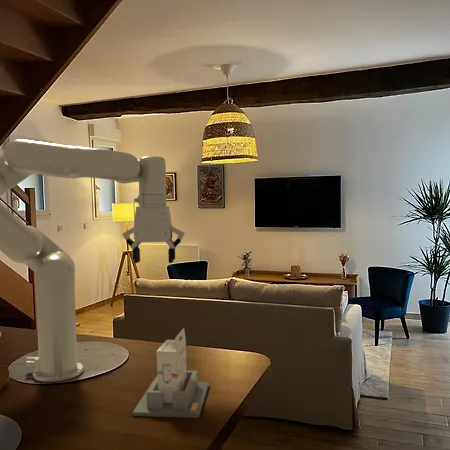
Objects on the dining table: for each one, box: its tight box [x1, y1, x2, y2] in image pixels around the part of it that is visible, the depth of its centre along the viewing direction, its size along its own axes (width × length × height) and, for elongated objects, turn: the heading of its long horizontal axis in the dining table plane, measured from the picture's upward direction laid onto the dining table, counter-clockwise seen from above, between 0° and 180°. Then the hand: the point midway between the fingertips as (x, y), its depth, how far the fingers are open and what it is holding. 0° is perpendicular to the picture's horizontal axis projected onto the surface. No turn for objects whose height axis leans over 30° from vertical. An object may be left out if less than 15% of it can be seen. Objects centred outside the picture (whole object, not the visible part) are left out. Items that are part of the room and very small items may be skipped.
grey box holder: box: [132, 370, 210, 419], centre depth 103 cm, size 14×17×4 cm
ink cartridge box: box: [155, 328, 187, 403], centre depth 103 cm, size 9×5×15 cm, turn 172°
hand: (154, 262), depth 127 cm, fingers open, 9 cm apart
